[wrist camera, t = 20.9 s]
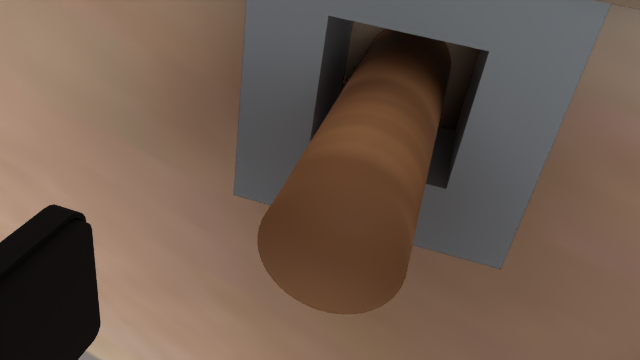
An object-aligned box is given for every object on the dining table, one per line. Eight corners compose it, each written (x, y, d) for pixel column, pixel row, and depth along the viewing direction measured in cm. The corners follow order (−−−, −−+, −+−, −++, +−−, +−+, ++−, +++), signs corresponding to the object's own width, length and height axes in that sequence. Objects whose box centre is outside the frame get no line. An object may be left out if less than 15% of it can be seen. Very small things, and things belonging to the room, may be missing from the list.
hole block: (500, 201, 24) (500, 269, 20) (273, 141, 25) (233, 194, 21) (597, -53, 18) (622, -24, 14) (300, -109, 20) (253, -96, 16)
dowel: (439, 111, 22) (388, 331, 13) (360, 92, 23) (252, 289, 13) (461, 33, 21) (423, 215, 11) (375, 13, 21) (264, 172, 11)
